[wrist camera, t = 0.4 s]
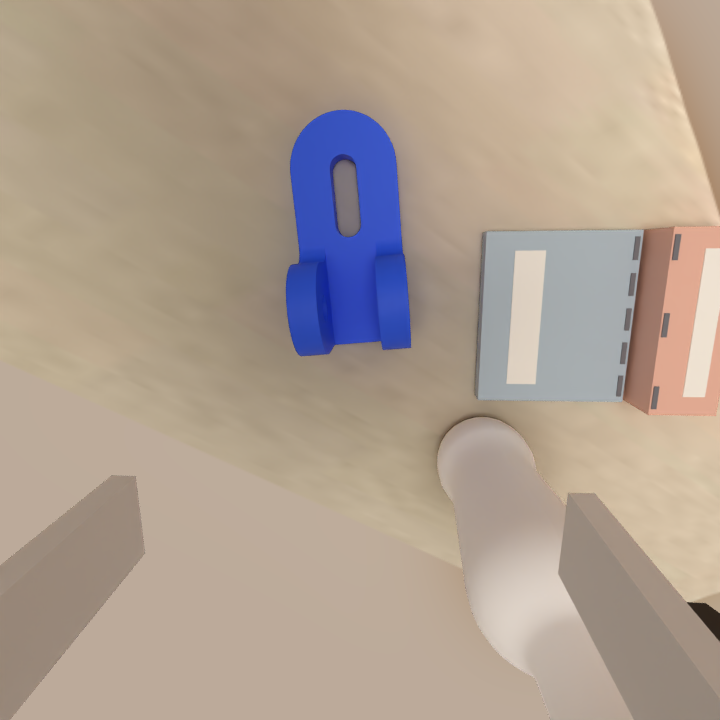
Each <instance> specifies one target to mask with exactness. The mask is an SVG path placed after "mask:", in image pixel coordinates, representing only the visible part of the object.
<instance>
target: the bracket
mask: <svg viewBox="0 0 720 720" xmlns="http://www.w3.org/2000/svg"><path fill="white" fill-rule="evenodd" d="M343 159H348V160H351V161H352V162H354V164H355V165H356V171H357V182H358V194H359V205H360V216H361V228H360V230H359V232H358V233H357V234H356V235H355V236H352V237H344V236H343V235H342V234H341V233H340V232H339V229H338V222H337V212H336V202H335V192H334V182H333V168H334V166H335V164H336V163H337V162H338V161H340V160H343ZM290 173H291V182H292V190H293V199H294V207H295V216H296V224H297V233H298V242H299V251H300V260H299V264H293V265H291V266H290V267H289V269H288V273H287V281H286V304H287V315H288V322H289V328H290V333H291V337H292V341H293V344H294V347H295V350H296V352H297V353H298V355H300V356H311V355H324V354H329V353H330V352H331V350H332V349H333V347H334V345H338V344H351V343H363V342H376V341H381V343H382V349H383V350H389V349H402V348H411V332H410V314H409V299H408V286H407V275H406V264H405V256H404V254H403V250H402V237H401V223H400V209H399V194H398V180H397V166H396V156H395V152H394V148H393V145H392V143H391V141H390V139H389V137H388V135H387V134H386V132H385V131H384V130H383V128H382V127H381V126H380V125H379V124H378V123H377V122H375V121H374V120H373V119H371V118H370V117H368V116H366V115H364V114H362V113H359V112H356V111H351V110H336V111H331V112H328V113H325V114H323V115H321V116H319V117H317V118H316V119H314V120H313V121H311V122H310V123H309V124H308V125H307V126H306V127H305V128H304V129H303V131H302V132H301V133H300V135H299V137H298V138H297V140H296V142H295V145H294V148H293V151H292V155H291V161H290Z"/></svg>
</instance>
